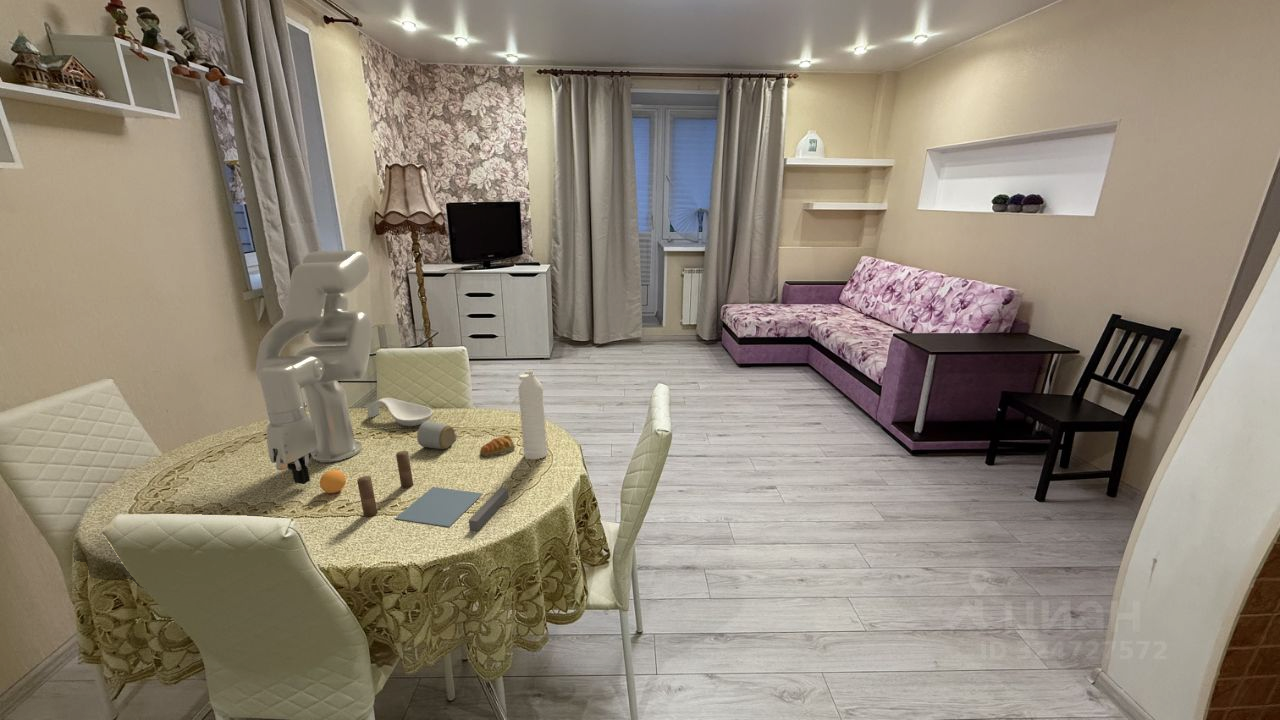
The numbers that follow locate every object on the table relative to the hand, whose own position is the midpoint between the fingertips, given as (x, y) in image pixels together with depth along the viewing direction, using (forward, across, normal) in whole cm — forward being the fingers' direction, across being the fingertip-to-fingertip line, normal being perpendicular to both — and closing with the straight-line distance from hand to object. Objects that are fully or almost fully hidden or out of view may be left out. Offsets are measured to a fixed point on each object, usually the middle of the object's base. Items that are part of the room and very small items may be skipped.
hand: (302, 481), depth 133 cm
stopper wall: (+2, 0, +52) cm, 53 cm away
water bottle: (+2, -28, +50) cm, 58 cm away
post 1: (+2, +6, +26) cm, 26 cm away
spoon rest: (+2, -42, -5) cm, 43 cm away
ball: (-1, 0, +10) cm, 10 cm away
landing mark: (+2, 0, +40) cm, 40 cm away
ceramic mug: (+2, -29, +20) cm, 35 cm away
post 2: (+2, -6, +26) cm, 26 cm away
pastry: (+2, -30, +39) cm, 49 cm away
